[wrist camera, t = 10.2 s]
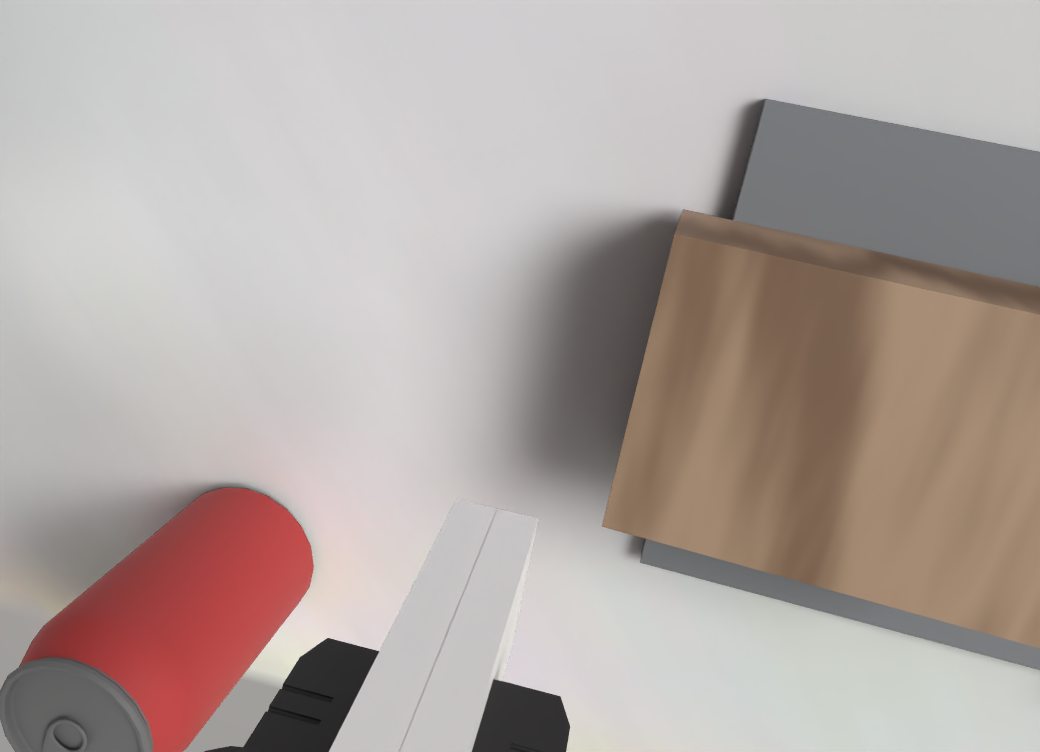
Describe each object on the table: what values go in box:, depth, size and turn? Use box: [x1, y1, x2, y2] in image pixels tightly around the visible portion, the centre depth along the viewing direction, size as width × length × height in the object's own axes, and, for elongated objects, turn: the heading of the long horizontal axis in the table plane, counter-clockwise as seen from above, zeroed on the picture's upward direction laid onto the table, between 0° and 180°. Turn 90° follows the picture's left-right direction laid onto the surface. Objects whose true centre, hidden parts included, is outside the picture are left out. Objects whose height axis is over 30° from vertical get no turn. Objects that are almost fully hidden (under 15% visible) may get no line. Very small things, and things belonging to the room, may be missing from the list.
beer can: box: [0, 488, 313, 752], centre depth 33 cm, size 7×7×12 cm
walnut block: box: [602, 210, 1040, 648], centre depth 28 cm, size 5×10×14 cm
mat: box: [640, 99, 1040, 670], centre depth 29 cm, size 20×18×2 cm
